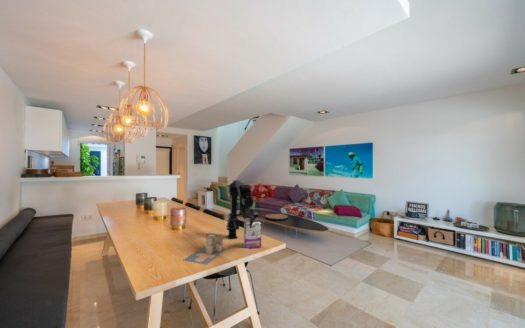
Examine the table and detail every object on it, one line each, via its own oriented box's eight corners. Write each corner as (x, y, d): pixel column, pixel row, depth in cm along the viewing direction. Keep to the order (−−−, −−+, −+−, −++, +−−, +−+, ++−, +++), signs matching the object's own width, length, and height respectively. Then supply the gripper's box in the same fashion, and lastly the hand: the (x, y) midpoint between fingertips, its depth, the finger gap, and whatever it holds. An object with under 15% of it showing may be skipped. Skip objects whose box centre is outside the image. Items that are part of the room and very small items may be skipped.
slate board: (205, 246, 144) (206, 245, 144) (227, 249, 139) (227, 248, 139) (182, 261, 121) (182, 260, 121) (206, 265, 116) (206, 264, 116)
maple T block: (209, 247, 140) (209, 232, 140) (222, 249, 137) (222, 234, 137) (201, 252, 132) (201, 236, 132) (215, 255, 129) (215, 238, 129)
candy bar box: (259, 245, 148) (259, 221, 148) (261, 247, 143) (261, 223, 143) (243, 246, 145) (243, 222, 145) (244, 249, 140) (245, 224, 140)
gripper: (232, 207, 125) (232, 234, 125) (262, 205, 132) (261, 230, 132) (228, 204, 135) (228, 228, 135) (255, 202, 142) (255, 226, 142)
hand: (243, 228), depth 136 cm, fingers open, 9 cm apart
